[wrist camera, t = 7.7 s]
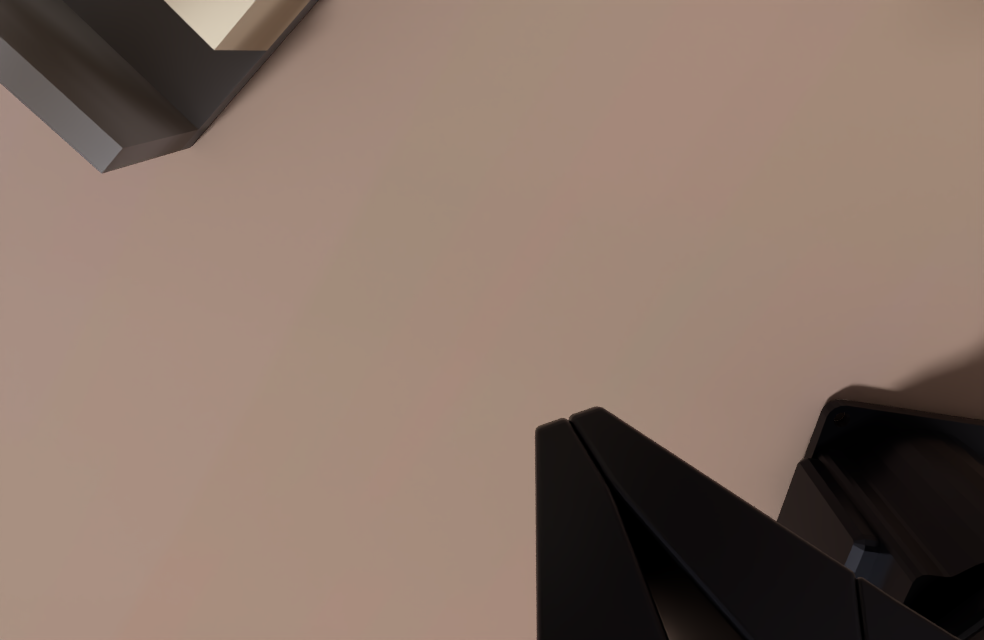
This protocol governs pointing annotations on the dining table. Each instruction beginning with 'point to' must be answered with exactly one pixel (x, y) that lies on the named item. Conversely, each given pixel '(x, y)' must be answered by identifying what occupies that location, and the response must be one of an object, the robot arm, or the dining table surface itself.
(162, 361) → the dining table surface
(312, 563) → the dining table surface
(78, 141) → the trap box
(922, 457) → the robot arm
